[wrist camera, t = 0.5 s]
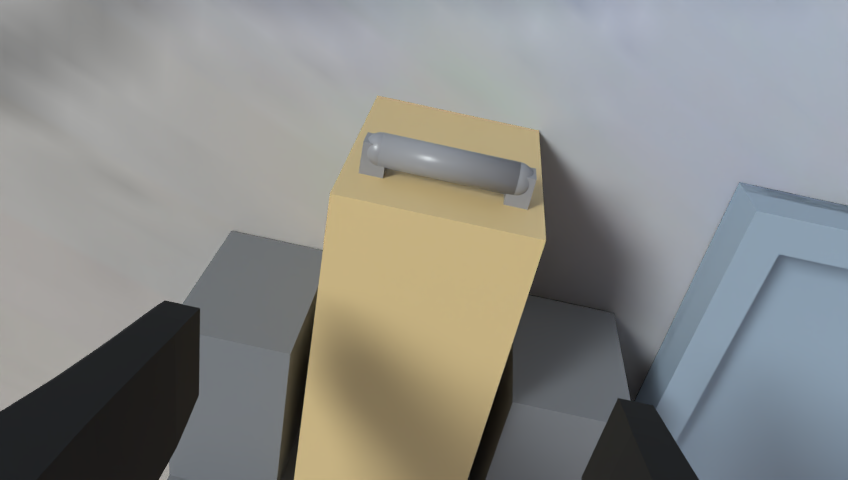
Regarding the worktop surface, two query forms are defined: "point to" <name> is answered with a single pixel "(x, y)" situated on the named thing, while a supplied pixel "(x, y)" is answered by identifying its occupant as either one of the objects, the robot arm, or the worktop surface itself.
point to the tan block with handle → (419, 293)
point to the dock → (289, 357)
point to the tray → (762, 345)
